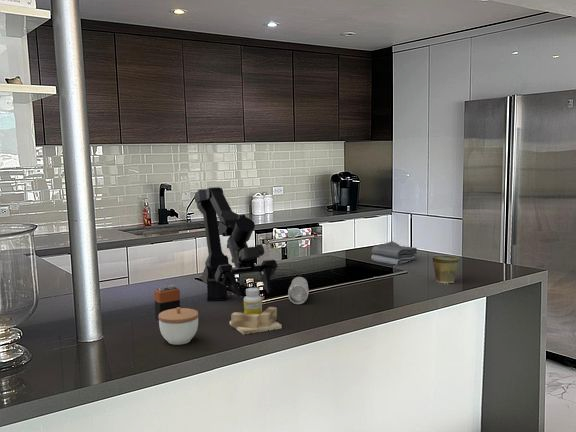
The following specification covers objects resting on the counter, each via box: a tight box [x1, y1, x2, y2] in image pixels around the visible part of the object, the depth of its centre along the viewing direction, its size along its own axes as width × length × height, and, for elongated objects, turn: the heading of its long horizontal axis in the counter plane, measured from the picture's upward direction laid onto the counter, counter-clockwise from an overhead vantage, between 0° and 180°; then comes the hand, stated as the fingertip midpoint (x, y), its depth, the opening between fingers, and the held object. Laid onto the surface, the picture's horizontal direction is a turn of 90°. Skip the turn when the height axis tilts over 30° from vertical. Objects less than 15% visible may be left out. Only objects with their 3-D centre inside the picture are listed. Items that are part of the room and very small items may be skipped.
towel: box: [370, 241, 418, 266], centre depth 258 cm, size 15×18×8 cm
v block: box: [229, 306, 283, 336], centre depth 164 cm, size 11×15×4 cm
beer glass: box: [287, 276, 310, 305], centre depth 194 cm, size 7×7×15 cm
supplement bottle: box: [243, 287, 263, 314], centre depth 165 cm, size 5×5×10 cm
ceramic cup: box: [432, 254, 460, 285], centre depth 217 cm, size 13×10×10 cm
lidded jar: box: [158, 306, 199, 346], centre depth 152 cm, size 11×11×9 cm
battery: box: [154, 284, 181, 320], centre depth 173 cm, size 4×7×10 cm, turn 127°
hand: (254, 294), depth 163 cm, fingers open, 9 cm apart
